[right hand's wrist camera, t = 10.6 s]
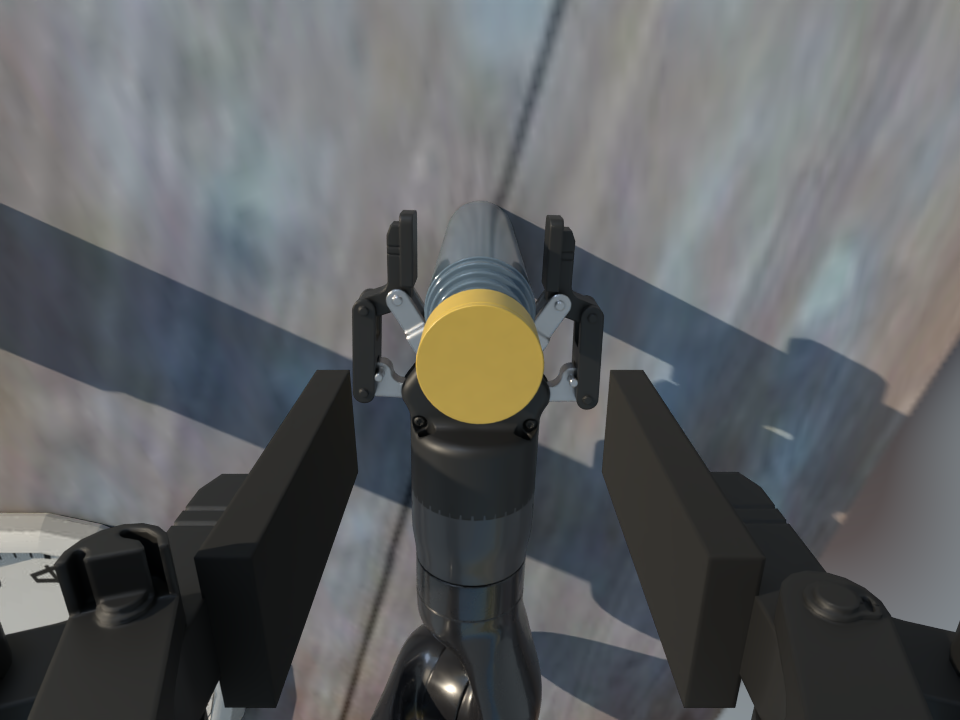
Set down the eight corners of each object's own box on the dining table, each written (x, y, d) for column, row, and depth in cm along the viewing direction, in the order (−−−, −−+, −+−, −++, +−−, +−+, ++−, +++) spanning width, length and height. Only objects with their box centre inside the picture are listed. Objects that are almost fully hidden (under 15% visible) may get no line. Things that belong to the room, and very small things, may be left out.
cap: (396, 340, 20) (388, 362, 18) (484, 263, 19) (485, 278, 17) (475, 419, 21) (475, 447, 19) (562, 349, 20) (570, 371, 18)
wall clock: (308, 748, 53) (22, 835, 57) (313, 731, 54) (34, 816, 59) (104, 469, 43) (-225, 599, 47) (117, 458, 44) (-203, 584, 49)
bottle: (432, 232, 39) (380, 356, 18) (482, 186, 38) (486, 263, 17) (477, 280, 40) (474, 449, 19) (526, 237, 39) (579, 367, 18)
